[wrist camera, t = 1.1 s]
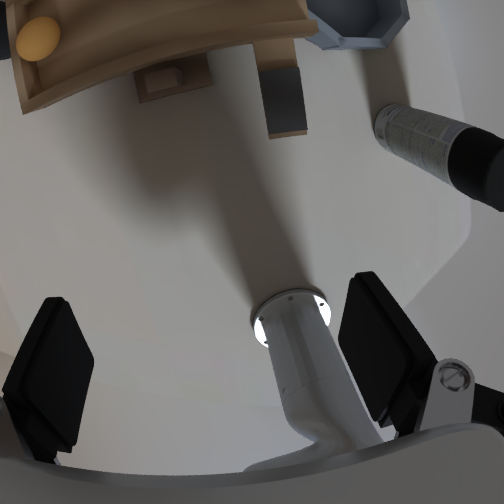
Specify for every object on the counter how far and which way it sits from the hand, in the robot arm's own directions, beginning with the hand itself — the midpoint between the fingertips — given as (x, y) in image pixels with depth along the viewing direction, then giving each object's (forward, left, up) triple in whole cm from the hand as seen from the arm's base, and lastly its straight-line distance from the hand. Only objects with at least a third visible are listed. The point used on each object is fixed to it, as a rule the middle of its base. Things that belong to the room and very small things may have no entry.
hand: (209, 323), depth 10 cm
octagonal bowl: (+16, -18, -29) cm, 37 cm away
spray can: (-1, -24, -29) cm, 38 cm away
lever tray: (+12, +1, -22) cm, 25 cm away
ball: (+16, +11, -17) cm, 26 cm away
